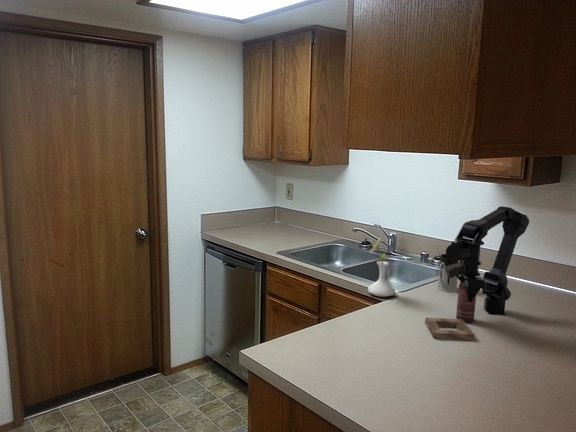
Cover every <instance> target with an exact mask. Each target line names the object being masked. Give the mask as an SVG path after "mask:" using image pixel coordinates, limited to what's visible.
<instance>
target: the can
mask: <svg viewBox="0 0 576 432" xmlns="http://www.w3.org/2000/svg"><path fill="white" fill-rule="evenodd" d="M463 283H464V284H465V281H463V282H460V281H459V284H458V288H457V290H458V291H457V300H456V302H457V305H456V314H455V317H456V318H455V319H463V321H464V322H465V323H466V324H471V323H473V322H474V320H475V311H476V302H477V294H478V293H477V294H476V296H475V297H474V299H473V300H472V302H468V296H467V288H466V286H465V285H464V284H463Z"/></svg>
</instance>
